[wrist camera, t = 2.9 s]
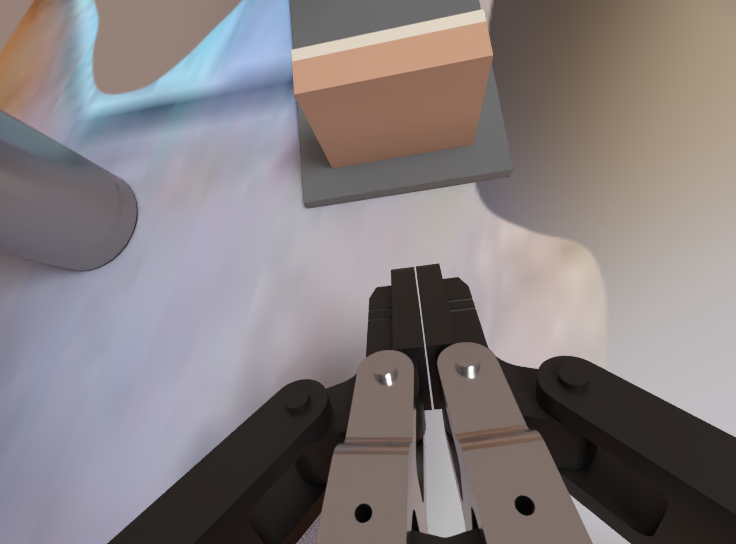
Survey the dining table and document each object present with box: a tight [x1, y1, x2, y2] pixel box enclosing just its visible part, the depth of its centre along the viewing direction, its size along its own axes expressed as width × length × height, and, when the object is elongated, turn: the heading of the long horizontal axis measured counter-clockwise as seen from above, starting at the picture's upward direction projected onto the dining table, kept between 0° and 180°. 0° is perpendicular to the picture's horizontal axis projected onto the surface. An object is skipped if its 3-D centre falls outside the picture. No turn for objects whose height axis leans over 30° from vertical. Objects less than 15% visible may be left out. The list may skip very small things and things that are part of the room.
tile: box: [291, 9, 493, 168], centre depth 26 cm, size 11×3×9 cm, turn 96°
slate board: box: [290, 0, 513, 208], centre depth 32 cm, size 16×22×1 cm
